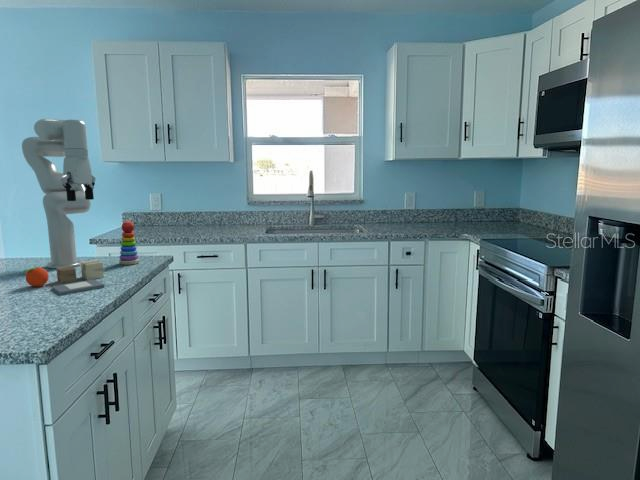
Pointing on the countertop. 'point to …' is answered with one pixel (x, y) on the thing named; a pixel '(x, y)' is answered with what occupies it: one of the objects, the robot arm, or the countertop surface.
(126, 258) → the stacking toy
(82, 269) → the maple cube
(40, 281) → the clementine
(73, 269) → the walnut cube
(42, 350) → the countertop surface
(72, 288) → the board
